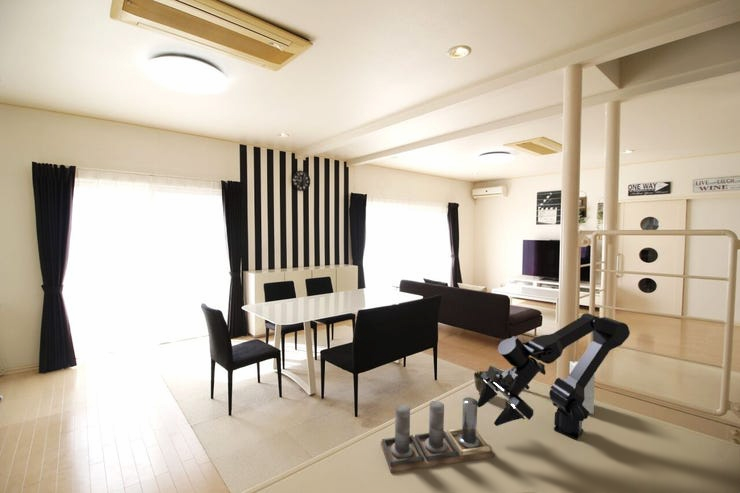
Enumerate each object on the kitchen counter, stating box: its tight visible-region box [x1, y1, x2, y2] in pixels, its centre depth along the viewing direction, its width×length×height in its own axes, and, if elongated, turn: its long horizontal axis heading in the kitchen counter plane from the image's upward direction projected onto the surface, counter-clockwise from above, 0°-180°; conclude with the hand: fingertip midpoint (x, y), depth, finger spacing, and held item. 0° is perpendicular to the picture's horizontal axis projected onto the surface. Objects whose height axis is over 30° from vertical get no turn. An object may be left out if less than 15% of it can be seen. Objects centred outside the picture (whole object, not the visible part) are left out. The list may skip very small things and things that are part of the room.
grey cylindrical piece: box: [458, 397, 480, 449], centre depth 96 cm, size 6×6×12 cm
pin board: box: [380, 400, 495, 473], centre depth 94 cm, size 30×11×14 cm, turn 102°
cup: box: [473, 370, 484, 396], centre depth 123 cm, size 8×7×8 cm
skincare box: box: [569, 360, 596, 415], centre depth 116 cm, size 8×6×15 cm
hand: (486, 415), depth 97 cm, fingers open, 9 cm apart
